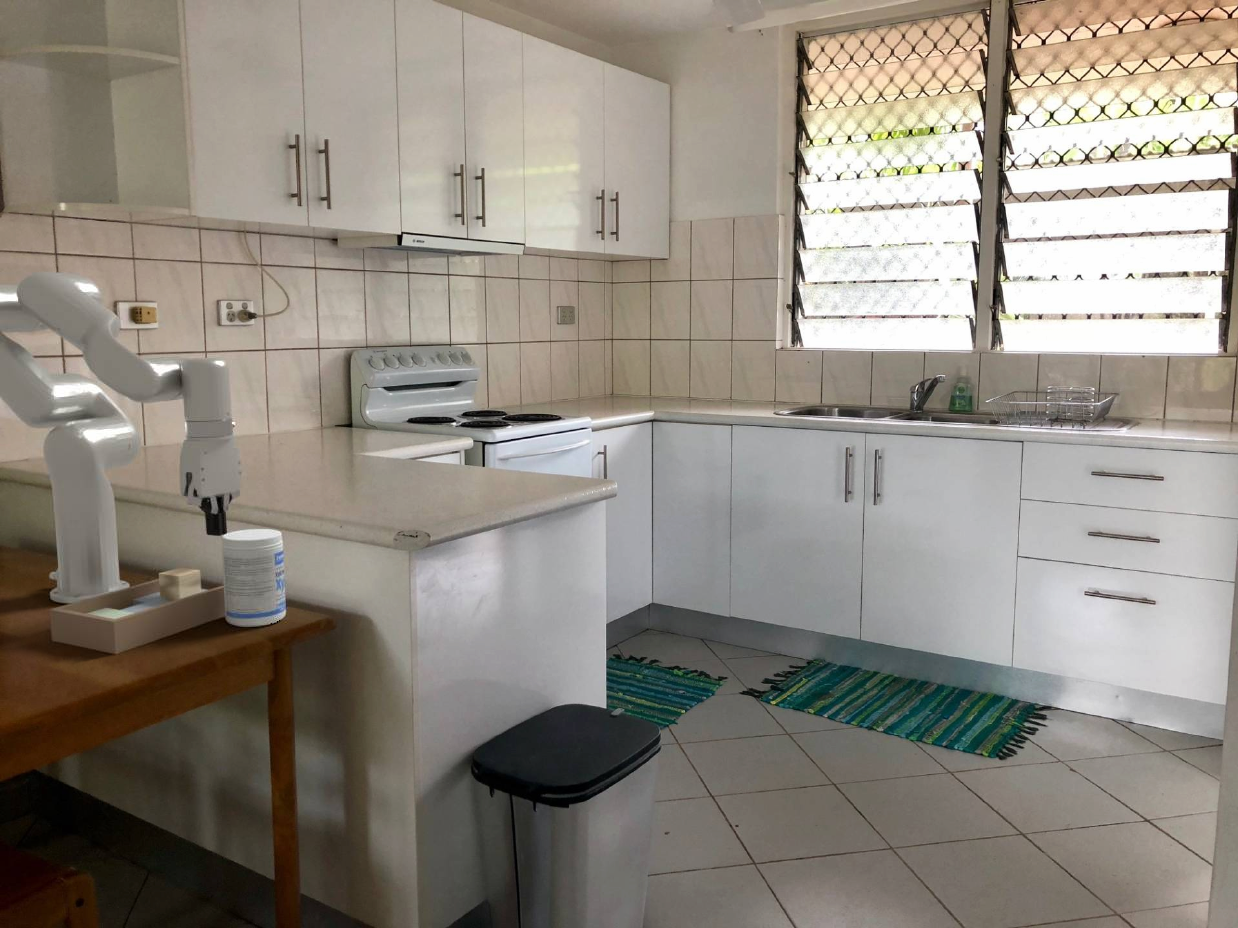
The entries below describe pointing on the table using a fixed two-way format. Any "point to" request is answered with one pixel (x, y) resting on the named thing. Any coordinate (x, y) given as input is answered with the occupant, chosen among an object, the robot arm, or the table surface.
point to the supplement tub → (253, 577)
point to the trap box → (132, 617)
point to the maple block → (179, 583)
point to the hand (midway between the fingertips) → (216, 534)
